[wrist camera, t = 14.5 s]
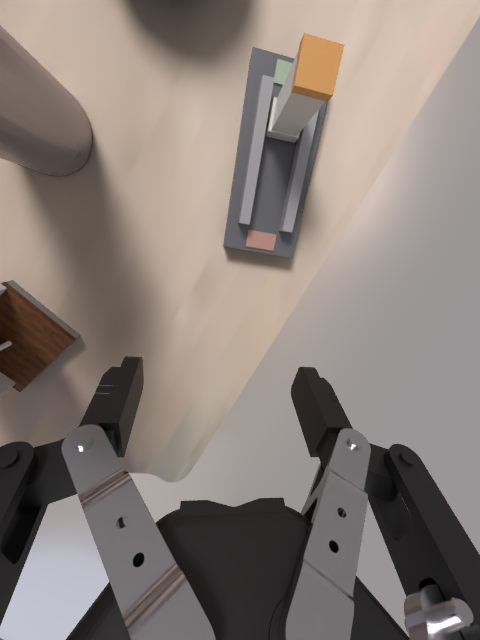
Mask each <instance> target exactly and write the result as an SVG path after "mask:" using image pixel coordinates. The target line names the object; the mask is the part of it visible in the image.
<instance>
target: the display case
mask: <svg viewBox="0 0 480 640" xmlns="http://www.w3.org/2000/svg"><path fill="white" fill-rule="evenodd" d="M79 336H80V335H79V334H78V333H77V332H75V331H74V330H73V329H72V328H70V327H69V326H68V325H67V324H66V323H64V322H63V321H62V320H61V319H59V318H58V317H57V316H56V315H55V314H53V313H52V312H51V311H50V310H48V309H47V308H46V307H45V306H44V305H42V304H41V303H40V302H39V301H37V300H36V299H35V298H34V297H32V296H31V295H30V294H29V293H28V292H26V291H25V290H24V289H23V288H21V287H20V286H19V285H18V284H17V283H15V282H14V281H13V280H12V281H8V282H3V283H0V396H1V395H2V394H4V393H5V392H6V391H8V390H9V389H10V388H12V387H13V388H15V389H16V390H18V391H19V392H20V391H22V390H23V389H24V388H25V387H27V386H28V385H29V384H30V383H31V382H32V381H33V380H34V379H36V378H37V377H38V376H39V375H40V374H41V373H42V372H43V371H44V370H45V369H46V368H47V367H48V366H49V365H50V364H51V363H52V362H53V361H54V360H55V359H56V358H57V357H59V356H60V355H61V354H62V353H63V352H64V351H65V350H66V349H67V348H68V347H69V346H70V345H71V344H72V343H73V342H74V341H75V340H76V339H77V338H78V337H79Z"/></svg>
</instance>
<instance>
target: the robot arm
mask: <svg viewBox="0 0 480 640" xmlns="http://www.w3.org/2000/svg"><path fill="white" fill-rule="evenodd" d="M91 145H92V131H91V127H90V123H89V120H88V118H87V116H86V113H85V111H84V110H83V108H82V106H81V105H80V103H79V102H78V101H77V100H76V99H75V98H74V96H73V95H72V94H71V93H70V92H69V91H68V90H67V89H66V88H65V87H64V86H62V85H61V84H60V83H59V82H58V81H57V80H56V79H55V78H54V77H53V76H52V75H51V74H50V73H49V72H48V71H47V70H46V69H45V68H44V67H43V66H42V65H41V64H40V63H39V62H38V61H37V60H36V59H35V58H34V57H33V56H32V55H31V54H30V53H29V52H28V51H27V50H25V49H24V48H23V47H22V46H21V45H20V44H19V43H18V42H17V41H16V40H15V39H14V38H13V37H12V36H11V35H10V34H9V33H8V32H7V31H6V30H5V29H4V28H3V27H2V26H1V25H0V158H2V159H5V160H8V161H11V162H13V163H16V164H19V165H22V166H24V167H27V168H30V169H33V170H36V171H39V172H41V173H44V174H48V175H52V176H64V175H68V174H71V173H73V172H75V171H77V170H78V169H79V168H81V167H82V166H83V165H84V163H85V162H86V160H87V159H88V157H89V154H90V151H91ZM143 381H144V379H143V361H142V357H127V356H126V357H125V358H124V360H123V362H122V365H121V367H111V368H110V369H109V370H108V371H107V372H106V373H105V374H104V375H103V377H102V379H101V381H100V383H99V386H98V387H97V389H96V392H95V394H94V396H93V398H92V400H91V402H90V404H89V407H88V409H87V411H86V413H85V415H84V417H83V419H82V422H81V423H80V425H79V427H78V428H76V429H74V430H73V431H72V432H70V433H69V434H68V435H67V436H66V438H64V439H62V440H59V441H57V442H53V443H49V444H46V445H42V446H38V447H34V448H33V447H32V446H31V445H30V444H29V443H27V442H13V443H9V444H6V445H4V446H2V447H0V625H1V623H2V620H3V617H4V615H5V612H6V610H7V607H8V605H9V602H10V600H11V597H12V595H13V592H14V590H15V587H16V585H17V582H18V579H19V577H20V574H21V572H22V569H23V567H24V564H25V562H26V559H27V557H28V554H29V552H30V549H31V547H32V544H33V541H34V539H35V536H36V534H37V531H38V529H39V526H40V524H41V521H42V518H43V516H44V514H45V511H46V508H47V506H48V504H49V503H52V502H55V501H58V500H61V499H64V498H67V497H70V496H72V495H75V494H78V496H79V499H80V502H81V505H82V508H83V510H84V513H85V516H86V519H87V521H88V524H89V527H90V530H91V532H92V535H93V538H94V540H95V543H96V546H97V549H98V551H99V554H100V556H101V559H102V562H103V565H104V568H105V570H106V573H107V576H108V578H109V581H110V582H109V583H108V584H107V586H106V587H105V588H104V590H103V591H102V592H101V594H100V595H99V596H98V598H97V599H96V600H95V602H94V603H93V604H92V606H91V607H90V608H89V610H88V611H87V612H86V614H85V615H84V616H83V618H82V619H81V620H80V621H79V623H78V624H77V625H76V627H75V628H74V629H73V631H72V632H71V633H70V635H69V636H68V637H67V639H66V640H480V555H479V554H478V552H477V550H476V548H475V547H474V545H473V544H472V542H471V540H470V539H469V537H468V535H467V534H466V532H465V530H464V529H463V527H462V526H461V524H460V523H459V521H458V519H457V517H456V516H455V515H454V513H453V511H452V509H451V508H450V506H449V504H448V503H447V501H446V500H445V498H444V496H443V495H442V493H441V491H440V490H439V488H438V487H437V485H436V483H435V482H434V480H433V479H432V477H431V475H430V474H429V472H428V470H427V469H426V467H425V465H424V464H423V462H422V461H421V459H420V458H419V456H418V455H417V454H416V453H415V452H414V451H412V450H411V449H409V448H408V447H406V446H404V445H401V444H394V445H392V446H391V447H390V448H389V449H385V448H382V447H379V446H376V445H373V444H370V443H369V442H368V441H367V439H366V438H365V437H364V436H363V435H362V434H361V433H359V432H358V431H356V430H354V429H353V428H352V426H351V424H350V422H349V420H348V418H347V416H346V414H345V412H344V410H343V408H342V406H341V404H340V403H339V400H338V398H337V396H335V392H334V390H333V388H332V386H331V385H330V384H329V383H328V382H327V381H326V380H325V379H324V378H320V377H319V375H318V372H317V370H316V369H315V368H312V367H300V368H299V369H298V372H297V374H296V377H295V379H294V382H293V384H292V388H291V397H292V400H293V403H294V407H295V410H296V413H297V416H298V419H299V422H300V425H301V428H302V432H303V435H304V438H305V441H306V444H307V447H308V450H309V453H310V457H319V458H320V461H321V463H320V465H319V467H318V470H317V473H316V475H315V478H314V481H313V484H312V487H311V489H310V492H309V495H308V498H307V500H306V503H305V505H304V507H303V509H302V511H301V513H299V512H297V511H296V510H294V509H292V508H289V507H287V506H285V503H284V499H283V498H262V499H261V498H260V499H257V500H254V501H251V502H248V503H245V504H243V505H240V506H237V507H230V506H227V505H223V504H219V503H216V502H212V501H208V500H198V501H181V506H180V509H178V510H175V511H173V512H171V513H169V514H167V515H166V516H164V517H163V518H161V519H160V520H159V521H157V522H156V523H155V522H154V520H153V518H152V516H151V514H150V512H149V510H148V509H147V507H146V505H145V503H144V501H143V499H142V497H141V495H140V493H139V491H138V489H137V487H136V486H135V484H134V482H133V480H132V478H131V476H130V475H129V473H128V472H125V470H124V469H123V467H122V465H121V463H120V461H119V459H118V457H124V455H125V451H126V448H127V444H128V441H129V437H130V433H131V430H132V426H133V423H134V419H135V415H136V412H137V408H138V405H139V401H140V397H141V394H142V390H143ZM401 496H402V497H401ZM402 498H403V499H402ZM368 500H369V503H370V505H371V508H372V510H373V513H374V516H375V518H376V520H377V523H378V526H379V528H380V531H381V533H382V536H383V538H384V541H385V543H386V546H387V548H388V551H389V554H390V556H391V559H392V561H393V563H394V566H395V569H396V571H397V574H398V576H399V579H400V581H401V584H402V587H403V589H404V592H405V594H406V599H405V602H404V613H405V627H406V630H407V632H408V633H409V637H408V636H407V635H406V634H405V632H404V631H403V630H402V629H401V628H400V626H399V625H398V624H397V623H396V622H395V620H394V619H393V618H392V617H391V616H390V615H389V613H388V612H387V611H386V610H385V609H384V608H383V607H382V605H381V604H380V603H379V602H378V601H377V599H376V598H375V597H374V596H373V595H372V594H371V592H370V591H369V590H368V589H367V588H366V587H365V585H364V584H363V583H362V582H361V581H360V580H359V579H358V577H357V576H356V571H357V565H358V557H359V552H360V546H361V540H362V533H363V527H364V521H365V514H366V508H367V502H368ZM403 500H404V501H403ZM404 502H405V503H404ZM405 504H406V505H405ZM406 506H407V507H406ZM407 508H408V509H407ZM408 510H409V511H408ZM0 640H3V639H1V638H0Z"/></svg>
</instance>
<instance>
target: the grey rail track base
mask: <svg viewBox="0 0 480 640" xmlns="http://www.w3.org/2000/svg"><path fill="white" fill-rule="evenodd" d="M293 62H294V59H293V58H290V57H286V56H283V55H279V54H276V53H272V52H269V51H265V50H262V49H258V48H254V47H253V49H252V54H251V59H250V65H249V72H248V79H247V86H246V92H245V99H244V106H243V113H242V120H241V127H240V134H239V141H238V148H237V155H236V162H235V168H234V175H233V182H232V189H231V196H230V203H229V210H228V217H227V224H226V231H225V237H224V244H223V246H224V247H230V248H236V249H242V250H247V251H253V252H259V253H265V254H271V255H276V256H282V257H288V258H292V257H293V253H294V248H295V244H296V239H297V235H298V230H299V226H300V222H301V217H302V213H303V208H304V204H305V199H306V195H307V190H308V186H309V182H310V177H311V173H312V168H313V164H314V159H315V155H316V150H317V146H318V142H319V137H320V133H321V128H322V124H323V119H324V115H325V110H326V106H327V102H326V101H325V102H324V104H323V105H322V106H321V107H320V108H319V110H318V111H317V112H316V113H315V114H314V116H313V117H312V118H311V119H310V121H309V122H308V123H307V124H306V125H305V127H304V128H303V129H302V130H301V131H300V135H299V138H298V140H297V141H296V142H295V143H292V142H288V141H284V140H279V139H275V138H271V137H267V136H266V130H267V124H268V119H269V113H270V107H271V103H272V101H273V98H274V97H276V98H277V97H278V95H279V93H280V90H281V88H282V86H283V84H284V82H285V79H286V77H287V75H288V73H289V70H290V68H291V66H292V64H293Z"/></svg>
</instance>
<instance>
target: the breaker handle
mask: <svg viewBox="0 0 480 640" xmlns="http://www.w3.org/2000/svg"><path fill="white" fill-rule="evenodd" d="M343 48H344V45H342V44H339V43H336V42H332V41H329V40H326V39H322V38H319V37H316V36H312V35H309V34H306V33H304V35H303V37H302V40H301V42H300V46H299V51H298V53H297V55H296V57H295V59H294V62H293V64H292V66H291V68H290V70H289V73H288V75H287V77H286V79H285V82H284V84H283V86H282V88H281V90H280V93H279V95H278V97H277V98H276V97H274V98H273V101H272V103H271V107H270V113H269V119H268V124H267V130H266V136H267V137H271V138H275V139H279V140H284V141H288V142H292V143H295V142H296V141H297V140H298V138H299V135H300V131H301V130H302V129H303V128H304V127H305V125H306V124H307V123H308V122H309V121H310V119H311V118H312V117H313V116H314V114H315V113H316V112H317V111H318V110H319V108H320V107H321V106H322V105H323V104H324V102H325V101H326V102H328V100H329V99H330V98H331V97H332V96H333V92H334V88H335V83H336V79H337V75H338V70H339V66H340V61H341V57H342V53H343Z"/></svg>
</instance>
